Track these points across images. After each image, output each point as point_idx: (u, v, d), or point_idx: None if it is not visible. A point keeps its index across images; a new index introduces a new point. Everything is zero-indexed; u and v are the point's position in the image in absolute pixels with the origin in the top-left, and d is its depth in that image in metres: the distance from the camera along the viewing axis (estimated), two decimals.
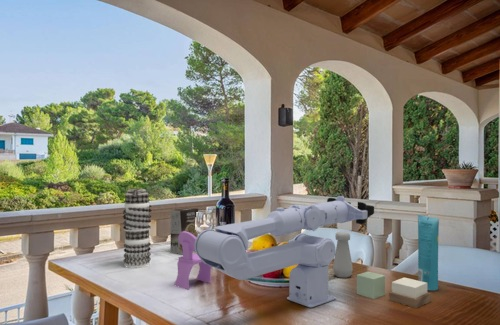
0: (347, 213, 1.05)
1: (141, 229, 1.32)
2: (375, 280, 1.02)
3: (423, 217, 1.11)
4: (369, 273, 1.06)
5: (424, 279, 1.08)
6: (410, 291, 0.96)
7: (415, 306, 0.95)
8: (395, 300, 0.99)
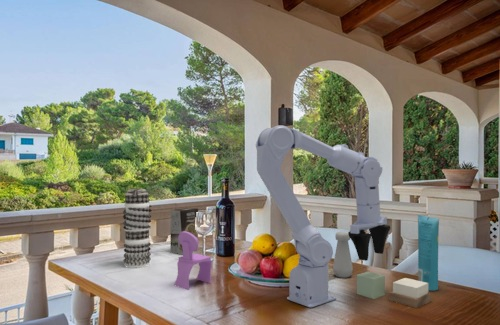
0: (362, 221, 1.03)
1: (141, 229, 1.32)
2: (375, 280, 1.02)
3: (423, 217, 1.11)
4: (369, 273, 1.06)
5: (424, 279, 1.08)
6: (412, 291, 0.96)
7: (415, 306, 0.95)
8: (395, 300, 0.99)
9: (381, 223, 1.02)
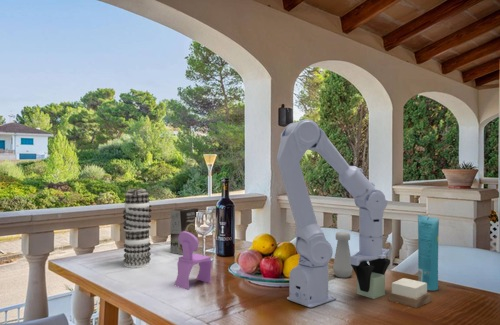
0: (363, 252, 1.03)
1: (141, 229, 1.32)
2: (375, 280, 1.02)
3: (423, 217, 1.11)
4: None
5: (424, 279, 1.08)
6: (411, 291, 0.96)
7: (415, 306, 0.95)
8: (395, 300, 0.99)
9: (382, 256, 1.01)
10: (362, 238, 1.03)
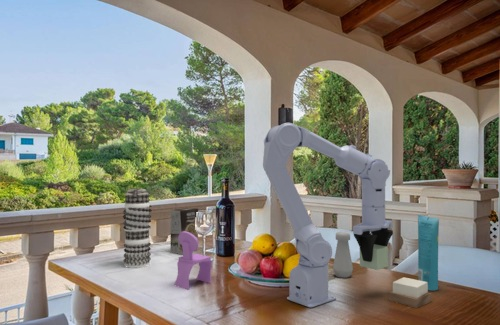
0: (366, 222, 1.03)
1: (141, 229, 1.32)
2: (378, 251, 1.01)
3: (423, 217, 1.11)
4: None
5: (424, 279, 1.08)
6: (412, 291, 0.96)
7: (415, 306, 0.95)
8: (395, 300, 0.99)
9: (385, 226, 1.01)
10: (365, 208, 1.03)
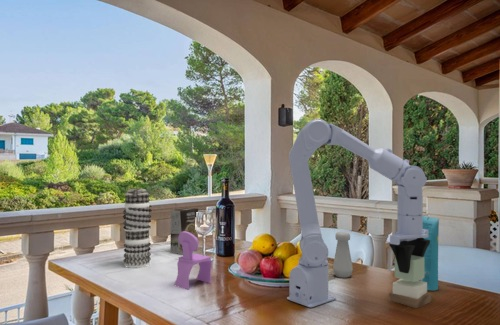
0: (403, 232, 0.98)
1: (141, 229, 1.32)
2: (415, 262, 0.97)
3: (423, 217, 1.11)
4: None
5: (424, 279, 1.08)
6: (412, 291, 0.96)
7: (415, 306, 0.95)
8: (395, 300, 0.99)
9: (423, 236, 0.96)
10: (401, 217, 0.98)
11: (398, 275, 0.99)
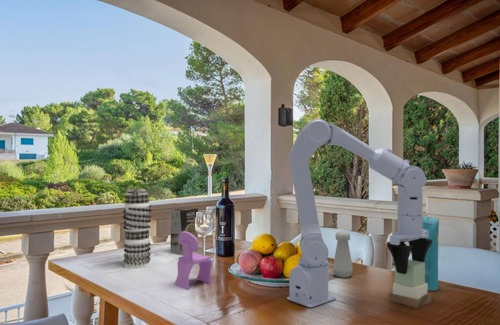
0: (403, 232, 0.98)
1: (141, 229, 1.32)
2: (415, 267, 0.97)
3: (423, 217, 1.11)
4: None
5: None
6: (413, 292, 0.96)
7: (415, 306, 0.95)
8: (395, 300, 0.99)
9: (423, 236, 0.96)
10: (401, 217, 0.98)
11: (398, 280, 0.99)
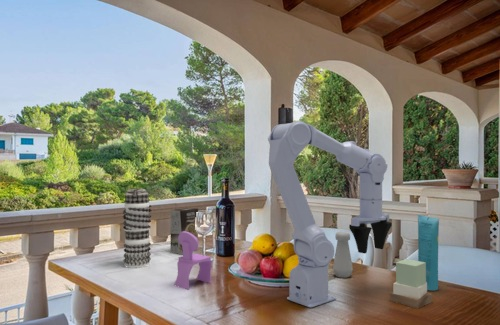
0: (364, 215, 1.06)
1: (141, 229, 1.32)
2: (417, 267, 0.96)
3: (423, 217, 1.11)
4: (408, 260, 1.01)
5: None
6: (414, 292, 0.96)
7: (416, 307, 0.95)
8: (396, 301, 0.99)
9: (382, 218, 1.05)
10: (362, 201, 1.07)
11: (400, 281, 0.99)
